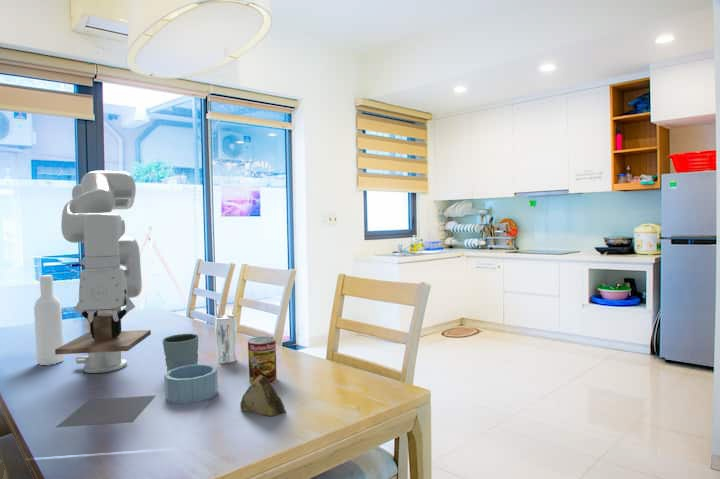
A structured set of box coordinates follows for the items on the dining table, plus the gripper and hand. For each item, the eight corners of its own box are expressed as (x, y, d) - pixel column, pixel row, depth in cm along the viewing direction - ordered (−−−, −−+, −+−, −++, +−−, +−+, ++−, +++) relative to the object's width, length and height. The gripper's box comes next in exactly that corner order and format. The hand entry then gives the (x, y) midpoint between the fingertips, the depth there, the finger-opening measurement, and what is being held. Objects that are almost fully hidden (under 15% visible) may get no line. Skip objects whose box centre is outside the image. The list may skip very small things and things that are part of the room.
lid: (55, 354, 110) (53, 323, 110) (87, 337, 126) (86, 310, 125) (127, 351, 111) (126, 320, 111) (150, 334, 127) (149, 307, 127)
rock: (227, 403, 117) (244, 409, 109) (244, 370, 121) (261, 374, 113) (261, 420, 122) (280, 427, 114) (277, 388, 126) (296, 393, 118)
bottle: (67, 361, 164) (62, 275, 163) (40, 367, 158) (35, 277, 157) (60, 357, 170) (55, 273, 168) (34, 363, 164) (29, 276, 163)
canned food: (253, 386, 134) (251, 344, 134) (246, 379, 141) (244, 338, 141) (280, 381, 138) (278, 340, 138) (272, 374, 145) (270, 335, 145)
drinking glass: (206, 372, 148) (205, 334, 148) (184, 383, 139) (183, 342, 138) (179, 370, 152) (178, 332, 151) (156, 380, 142) (154, 340, 142)
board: (55, 428, 110) (55, 427, 110) (89, 400, 127) (89, 399, 127) (132, 423, 112) (132, 421, 112) (156, 396, 129) (156, 395, 129)
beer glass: (232, 364, 156) (230, 319, 155) (212, 363, 158) (210, 318, 157) (241, 358, 163) (239, 314, 162) (222, 357, 164) (221, 314, 164)
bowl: (159, 406, 122) (158, 381, 122) (174, 388, 135) (173, 365, 135) (211, 402, 123) (210, 378, 123) (221, 385, 136) (220, 363, 136)
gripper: (58, 266, 113) (62, 342, 114) (132, 263, 115) (135, 339, 116) (74, 263, 121) (78, 334, 121) (143, 260, 122) (146, 331, 123)
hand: (106, 336), depth 119 cm, fingers closed on lid, 4 cm apart
